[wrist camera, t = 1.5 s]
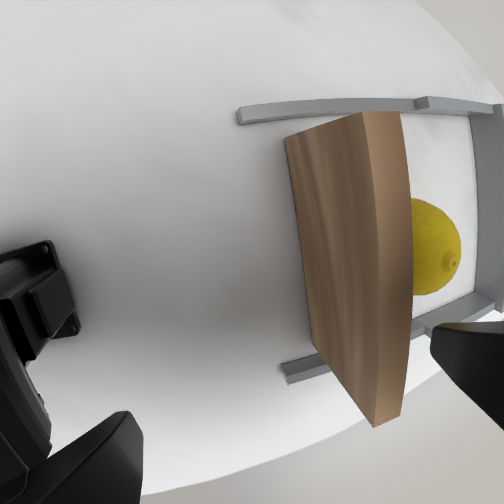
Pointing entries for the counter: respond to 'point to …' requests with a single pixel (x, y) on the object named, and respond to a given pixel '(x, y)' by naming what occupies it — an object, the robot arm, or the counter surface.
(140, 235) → the counter surface
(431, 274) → the lemon
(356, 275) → the board
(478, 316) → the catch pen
